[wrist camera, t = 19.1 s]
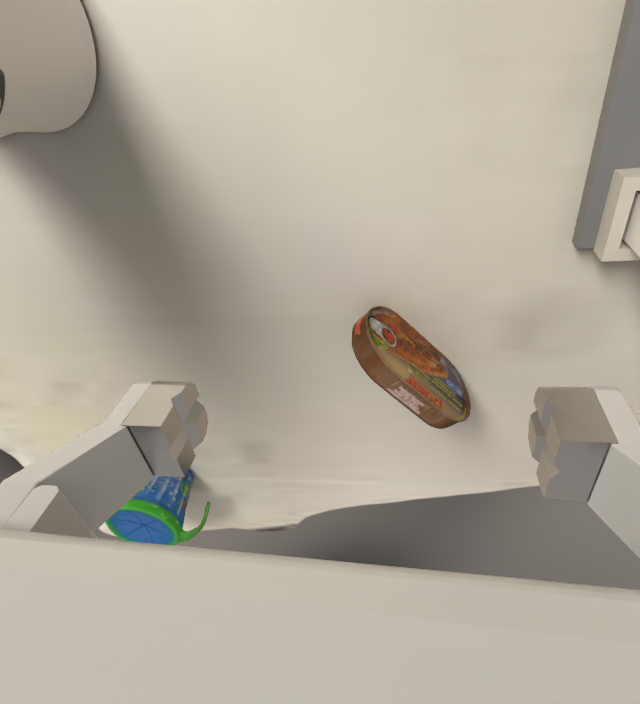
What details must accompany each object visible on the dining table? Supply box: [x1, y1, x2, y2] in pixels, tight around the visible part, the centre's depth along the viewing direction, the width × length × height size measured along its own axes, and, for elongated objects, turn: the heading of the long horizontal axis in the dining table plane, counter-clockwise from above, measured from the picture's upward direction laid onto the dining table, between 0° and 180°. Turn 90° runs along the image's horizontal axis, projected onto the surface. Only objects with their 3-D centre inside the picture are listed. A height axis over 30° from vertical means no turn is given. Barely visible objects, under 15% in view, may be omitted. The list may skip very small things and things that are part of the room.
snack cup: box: [105, 470, 210, 546], centre depth 65 cm, size 16×10×10 cm
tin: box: [352, 306, 471, 429], centre depth 44 cm, size 15×3×8 cm, turn 49°
